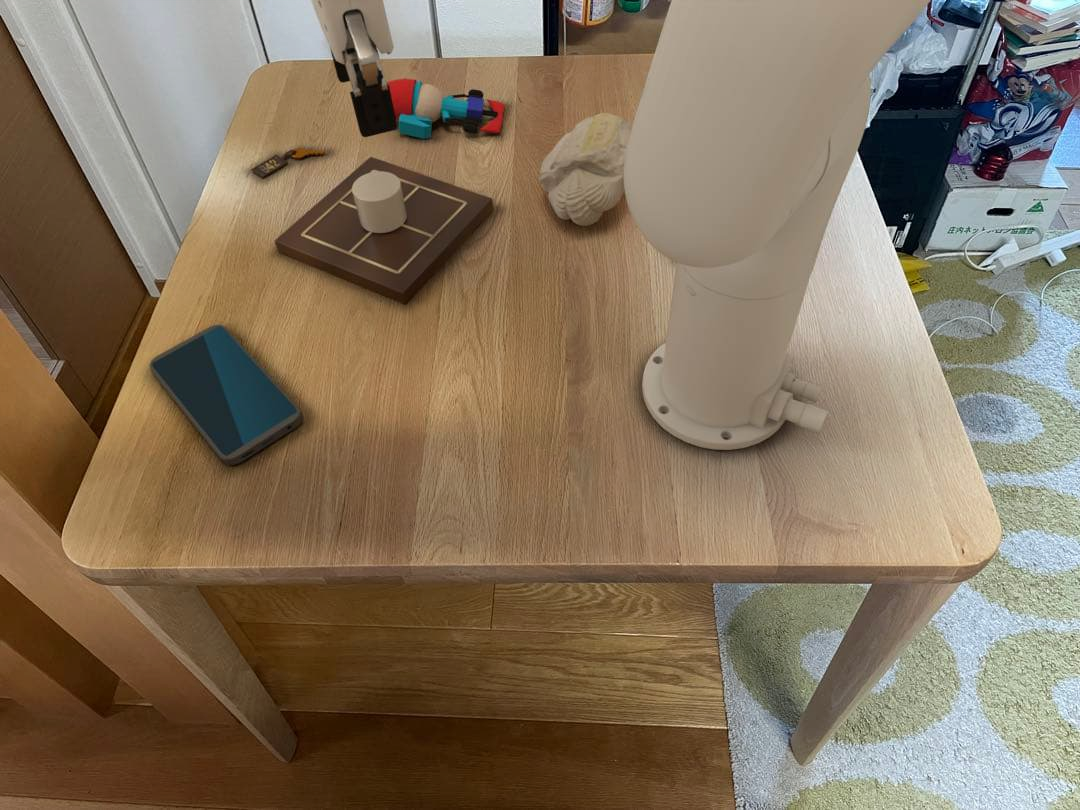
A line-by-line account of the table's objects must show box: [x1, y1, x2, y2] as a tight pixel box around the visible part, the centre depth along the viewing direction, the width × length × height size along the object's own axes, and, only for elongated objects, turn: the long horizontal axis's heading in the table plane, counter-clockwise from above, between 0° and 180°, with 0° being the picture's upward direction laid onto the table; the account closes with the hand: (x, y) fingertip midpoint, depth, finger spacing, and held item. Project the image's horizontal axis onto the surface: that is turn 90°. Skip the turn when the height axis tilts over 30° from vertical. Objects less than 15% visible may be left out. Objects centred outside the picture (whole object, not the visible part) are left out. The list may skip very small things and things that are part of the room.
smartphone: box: [149, 324, 304, 466], centre depth 72 cm, size 8×15×1 cm, turn 42°
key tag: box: [250, 147, 326, 179], centre depth 93 cm, size 8×3×1 cm, turn 124°
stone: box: [352, 171, 407, 233], centre depth 83 cm, size 5×5×4 cm
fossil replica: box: [538, 112, 632, 227], centre depth 84 cm, size 12×8×10 cm
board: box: [274, 156, 495, 305], centre depth 85 cm, size 16×16×2 cm
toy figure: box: [386, 78, 506, 140], centre depth 96 cm, size 8×5×15 cm
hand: (367, 104), depth 74 cm, fingers open, 9 cm apart
